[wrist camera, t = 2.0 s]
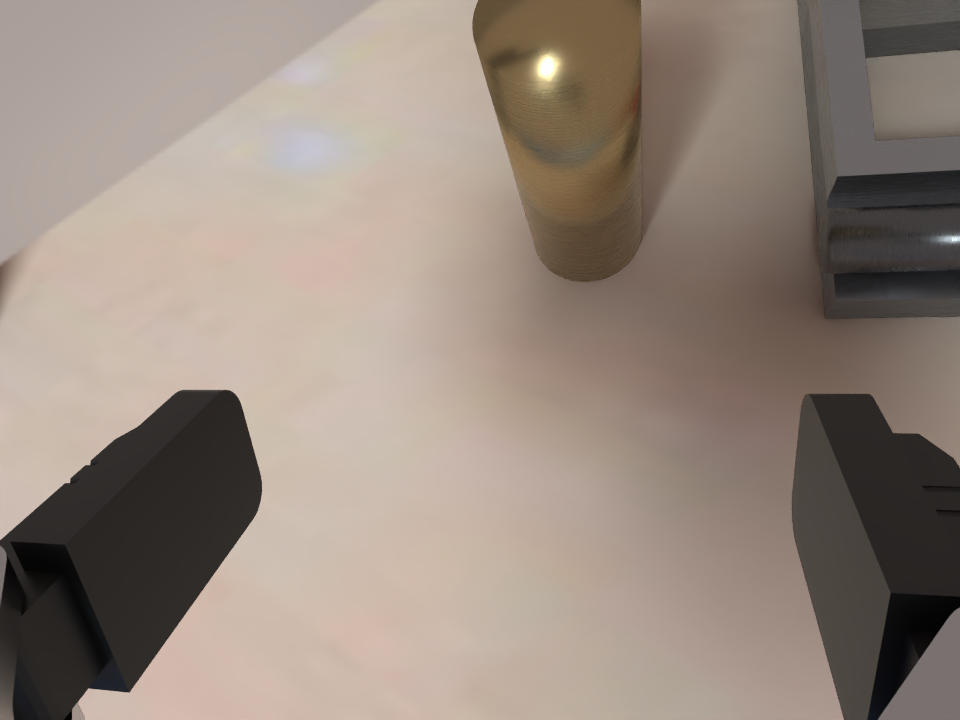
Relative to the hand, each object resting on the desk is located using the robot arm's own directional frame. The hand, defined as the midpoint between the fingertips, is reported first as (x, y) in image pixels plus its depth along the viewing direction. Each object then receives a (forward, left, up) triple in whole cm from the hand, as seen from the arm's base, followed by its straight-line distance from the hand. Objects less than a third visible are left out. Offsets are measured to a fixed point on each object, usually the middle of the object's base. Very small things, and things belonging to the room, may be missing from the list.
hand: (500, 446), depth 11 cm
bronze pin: (0, +11, -15) cm, 19 cm away
